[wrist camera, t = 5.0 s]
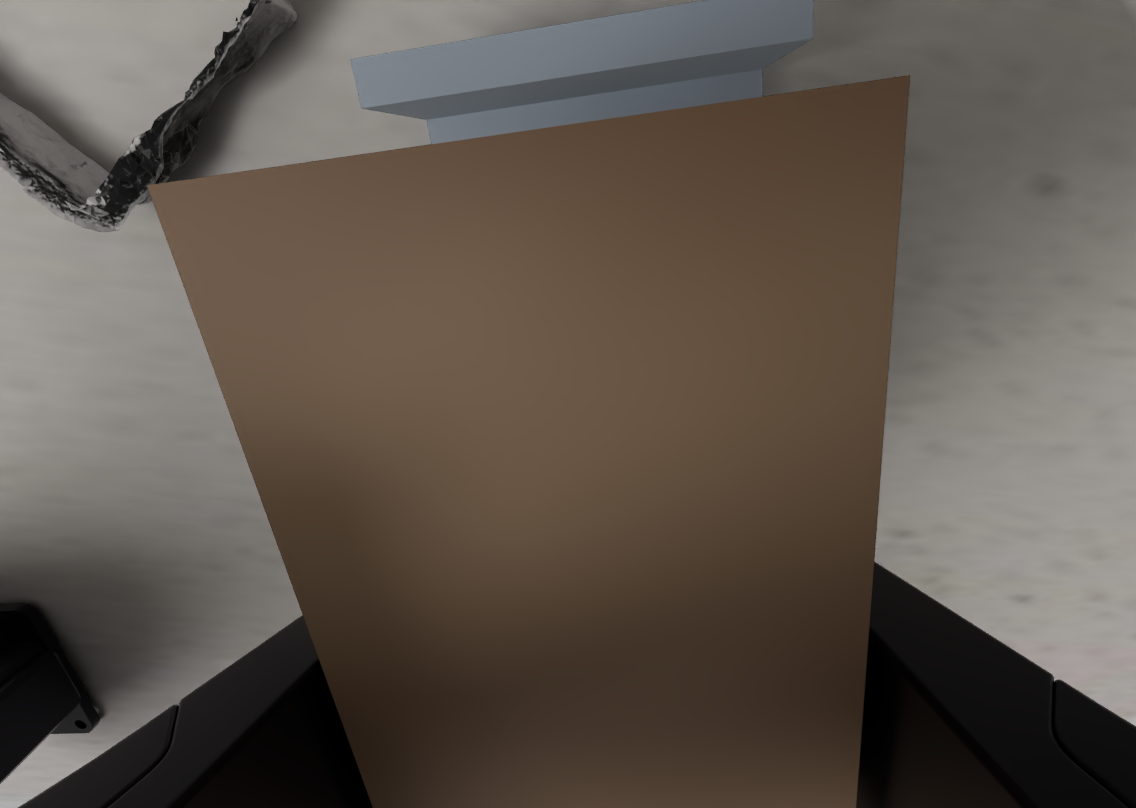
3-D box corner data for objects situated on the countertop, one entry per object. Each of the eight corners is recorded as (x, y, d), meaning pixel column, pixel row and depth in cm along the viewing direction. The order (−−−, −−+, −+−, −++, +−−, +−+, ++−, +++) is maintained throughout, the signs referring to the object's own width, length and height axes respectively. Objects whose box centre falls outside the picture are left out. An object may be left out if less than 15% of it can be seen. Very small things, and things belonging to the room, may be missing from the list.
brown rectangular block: (766, 759, 11) (837, 1051, 8) (506, 763, 12) (455, 1035, 8) (762, 115, 7) (911, 74, 4) (368, 171, 8) (146, 184, 4)
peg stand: (759, 556, 20) (799, 676, 15) (522, 568, 21) (493, 685, 16) (753, 36, 14) (813, -18, 10) (431, 87, 15) (349, 59, 11)
